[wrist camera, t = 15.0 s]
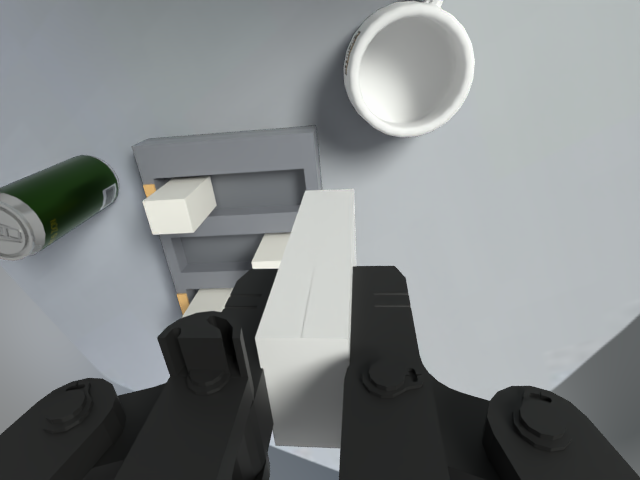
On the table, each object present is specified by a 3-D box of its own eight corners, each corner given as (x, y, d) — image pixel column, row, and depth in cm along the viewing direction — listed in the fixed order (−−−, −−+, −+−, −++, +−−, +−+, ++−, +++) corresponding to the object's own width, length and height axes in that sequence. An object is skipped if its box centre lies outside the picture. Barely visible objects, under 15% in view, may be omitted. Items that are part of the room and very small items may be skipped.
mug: (431, 143, 35) (445, 162, 30) (328, 108, 34) (323, 121, 29) (498, -8, 30) (530, -19, 24) (378, -53, 29) (383, -73, 24)
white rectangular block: (173, 178, 37) (142, 201, 32) (209, 175, 36) (184, 198, 31) (181, 207, 38) (152, 234, 33) (216, 205, 38) (193, 232, 32)
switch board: (147, 138, 37) (130, 147, 34) (316, 125, 35) (312, 132, 32) (201, 324, 47) (191, 342, 44) (334, 321, 45) (333, 340, 42)
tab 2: (202, 285, 42) (179, 320, 37) (234, 283, 42) (216, 319, 37) (208, 307, 44) (187, 344, 38) (239, 306, 43) (223, 344, 38)
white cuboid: (265, 231, 39) (251, 261, 33) (301, 229, 38) (293, 260, 33) (270, 257, 40) (257, 291, 35) (305, 256, 40) (297, 290, 34)
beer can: (122, 160, 38) (31, 207, 27) (122, 209, 41) (39, 270, 30) (67, 147, 38) (-46, 189, 27) (71, 197, 40) (-31, 254, 30)
